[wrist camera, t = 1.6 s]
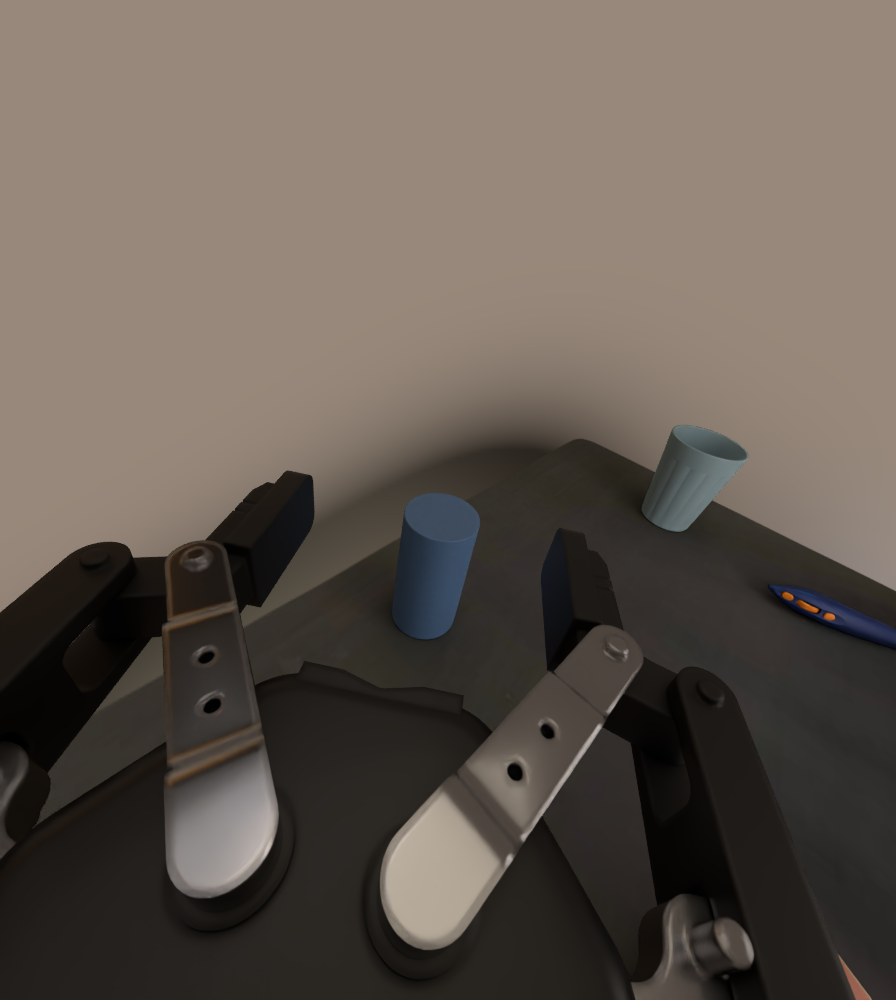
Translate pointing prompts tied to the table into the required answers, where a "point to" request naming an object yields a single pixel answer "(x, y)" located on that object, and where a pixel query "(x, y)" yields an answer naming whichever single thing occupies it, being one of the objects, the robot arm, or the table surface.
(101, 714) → the table surface
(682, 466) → the cup
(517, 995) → the robot arm
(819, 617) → the tapered navy handle
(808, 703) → the table surface
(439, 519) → the blue canister
